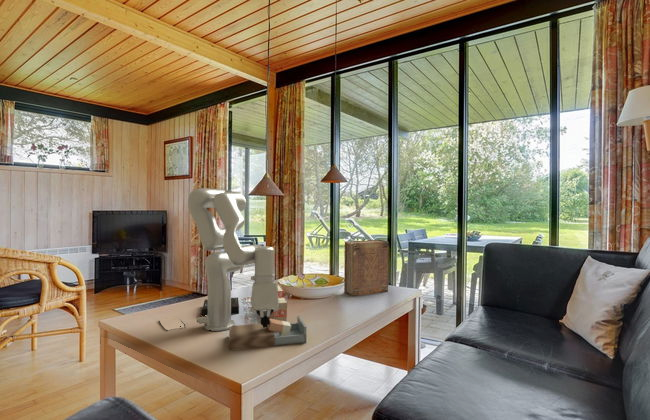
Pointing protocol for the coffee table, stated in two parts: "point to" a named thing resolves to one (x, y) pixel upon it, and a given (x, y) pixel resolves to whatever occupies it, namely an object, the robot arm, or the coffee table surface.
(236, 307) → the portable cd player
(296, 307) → the coffee table surface
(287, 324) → the cream tile
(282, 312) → the stack of blocks
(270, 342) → the walnut board
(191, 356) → the coffee table surface
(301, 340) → the box
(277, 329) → the terracotta tile
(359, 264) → the book
